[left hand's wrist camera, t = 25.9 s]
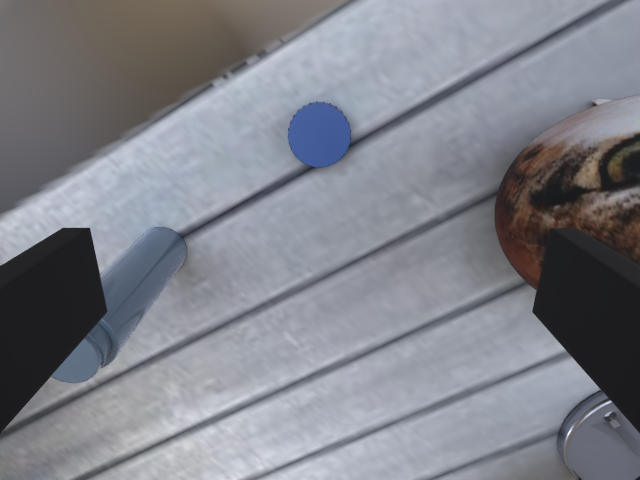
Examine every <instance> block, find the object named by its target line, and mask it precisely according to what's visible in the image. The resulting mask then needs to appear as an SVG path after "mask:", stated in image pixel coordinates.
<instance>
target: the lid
mask: <svg viewBox="0 0 640 480" xmlns="http://www.w3.org/2000/svg"><path fill="white" fill-rule="evenodd" d="M346 119H347V118H346V116H344V115H343V114H342V111H340V110H338V109H337V107H334V106H332V105H331V104H330V103H329V104H327V103H324V102H323V103H321V102H318V103H317V102H316V103H312V104H311V103H309V105H306V106H303V108H302V109H300V110H298V111H297V114H296V115H294V116H293V120H292V121H291V122H290V127H289V129H288V130H289V133H288V138H289V144H290V147H291V150H292V151H293V153H294V154H295V156H296V157H297V158H298V159H299V160H300V161H302V162H303V163H305V164H307V165H309V166H312V167H326V166H330V165H332V164H334V163H336V162H337V161H339V160H340V159H341V158H342V157H343V156H344V154H345V153H346V152H347V149H348V147H349V145H350V139H351V137H350V132H351V130H350V128H349V123H348V122H347V120H346Z"/></svg>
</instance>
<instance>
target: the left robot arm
mask: <svg viewBox="0 0 640 480" xmlns="http://www.w3.org/2000/svg"><path fill="white" fill-rule="evenodd" d="M107 312H108V311H107V306H106V302H105V297H104V292H103V288H102V283H101V278H100V273H99V269H98V264H97V259H96V255H95V250H94V245H93V240H92V236H91V231H90V228H62V229H60V230H59V231H57V232H56V233H54V234H52V235H51V236H49V237H47V238H46V239H44V240H42V241H41V242H39V243H37V244H36V245H34V246H33V247H31V248H29V249H28V250H26V251H24V252H23V253H21V254H19V255H18V256H16V257H14V258H13V259H11V260H10V261H8V262H6V263H5V264H3V265H1V266H0V433H1V432H2V431H3V430H4V429H5V427H6V426H7V425H8V424H9V423H10V422H11V421H12V419H13V418H14V417H15V416H16V415H17V414H18V413H19V412H20V410H21V409H22V408H23V407H24V406H25V405H26V404H27V403H28V401H29V400H30V399H31V398H32V397H33V396H34V395H35V393H36V392H37V391H38V390H39V389H40V388H41V387H42V386H43V384H44V383H45V382H46V381H47V380H48V379H49V378H50V376H51V375H52V374H53V373H54V372H55V371H56V370H57V369H58V367H59V366H60V365H61V364H62V363H63V362H64V361H65V360H66V358H67V357H68V356H69V355H70V354H71V353H72V352H73V350H74V349H75V348H76V347H77V346H78V345H79V344H80V343H81V341H82V340H83V339H84V338H85V337H86V336H87V335H88V334H89V332H90V331H91V330H92V329H93V328H94V327H95V326H96V324H97V323H98V322H99V321H100V320H101V319H102V318H103V317H104V315H105V314H106V313H107ZM532 312H533V313H534V314H535V315H536V317H537V318H538V319H539V320H540V321H541V322H542V323H543V324H544V326H545V327H546V328H547V329H548V330H549V331H550V332H551V334H552V335H553V336H554V337H555V338H556V339H557V340H558V341H559V343H560V344H561V345H562V346H563V347H564V348H565V349H566V350H567V352H568V353H569V354H570V355H571V356H572V357H573V358H574V360H575V361H576V362H577V363H578V364H579V365H580V366H581V367H582V369H583V370H584V371H585V372H586V373H587V374H588V375H589V377H590V378H591V379H592V380H593V381H594V382H595V383H596V384H597V386H598V387H599V388H600V389H601V390H602V391H601V392H599V393H597V394H595V395H593V396H591V397H590V398H588V399H586V400H585V401H584V402H582V403H581V404H580V405H579V406H577V407H576V408H575V409H574V410H573V411H572V412H571V414H570V415H569V416H568V417H567V419H566V420H565V422H564V424H563V425H562V428H561V430H560V433H559V437H558V449H559V453H560V456H561V458H562V460H563V461H564V463H565V464H566V466H567V468H568V469H569V471H570V472H571V474H572V475H573V476H574V477H575V478H576V479H577V480H640V266H639V265H637V264H635V263H634V262H632V261H630V260H629V259H627V258H626V257H624V256H622V255H621V254H619V253H617V252H616V251H614V250H612V249H611V248H609V247H607V246H606V245H604V244H603V243H601V242H599V241H598V240H596V239H594V238H593V237H591V236H589V235H588V234H586V233H584V232H583V231H581V230H580V229H578V228H550V231H549V236H548V240H547V245H546V250H545V255H544V259H543V264H542V269H541V273H540V278H539V283H538V287H537V292H536V297H535V302H534V306H533V311H532Z"/></svg>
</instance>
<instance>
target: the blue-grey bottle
mask: <svg viewBox="0 0 640 480" xmlns="http://www.w3.org/2000/svg"><path fill="white" fill-rule="evenodd" d="M186 256H187V248H186V244H185V242H184V240H183V239H182V237H181V236H180V235H179V234H178V233H176V232H175V231H173V230H171V229H168V228H164V227H157V228H153V229H150V230H148V231H147V232H146V233H145V234H143V235H142V236H141V237H140V238H139V239H138V240H137V241H136V242H135V243H134V244H133V245H132V246H130V247H129V248H128V249H127V250H126V251H125V252H124V253H123V254H122V255H121V256H120V257H119V258H117V259H116V260H115V261H114V262H113V263H112V264H111V265H110V266H109V267H108V268H107V269H106V270H104V271H103V272H102V273H101V274H100V278H101V283H102V288H103V292H104V297H105V302H106V306H107V311H108V312H107V313H106V314H105V315H104V317H103V318H102V319H101V320H100V321H99V322H98V323H97V324H96V326H95V327H94V328H93V329H92V330H91V331H90V332H89V334H88V335H87V336H86V337H85V338H84V339H83V340H82V341H81V343H80V344H79V345H78V346H77V347H76V348H75V349H74V350H73V352H72V353H71V354H70V355H69V356H68V357H67V358H66V360H65V361H64V362H63V363H62V364H61V365H60V366H59V367H58V369H57V370H56V371H55V372H54V373H53V374H52V375H51V376H52V377H53V378H55V379H57V380H60V381H63V382H68V383H80V382H84V381H86V380H89V379H90V378H92V377H93V376H94V375H95V374H96V373H97V371H98V370H99V369H100V368H103V367H105V366H107V365H109V364H110V363H111V362H112V361H113V360H114V359H115V358H116V356H117V355H118V353H119V352H120V351H121V349H122V348H123V346H124V345H125V344H126V342H127V341H128V339H129V338H130V337H131V335H132V334H133V332H134V331H135V330H136V328H137V327H138V325H139V324H140V323H141V321H142V320H143V318H144V317H145V316H146V314H147V313H148V311H149V310H150V309H151V307H152V306H153V304H154V303H155V302H156V300H157V299H158V297H159V296H160V295H161V293H162V292H163V290H164V289H165V288H166V286H167V285H168V283H169V282H170V281H171V279H172V278H173V276H174V275H175V274H176V272H177V271H178V269H179V268H180V267H181V265H182V264H183V262H184V261H185V259H186Z"/></svg>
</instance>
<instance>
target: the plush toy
mask: <svg viewBox="0 0 640 480" xmlns="http://www.w3.org/2000/svg"><path fill="white" fill-rule="evenodd" d="M592 102H594V103H595V104H596V106H593V107H590V108H587V109H585V110H583V111H581V112H578V113H576V114H574V115H572V116H569V117H567V118H566V119H564V120H562V121H560V122H559V123H557V124H555V125H554V126H552V127H550V128H549V129H547V130H546V131H545V132H543V133H542V134H540V135H539V136H538V137H537V138H535V139H534V140H533V141H532V142H531V143H530V144H529V145H528V146H527V147H526V148H525V149H524V150H523V151H522V152H521V153H520V154H519V155H518V156H517V158H516V159H515V160H514V161H513V163H512V164H511V166H510V167H509V169H508V170H507V172H506V174H505V176H504V178H503V180H502V182H501V185H500V188H499V190H498V194H497V198H496V204H495V226H496V231H497V235H498V239H499V242H500V245H501V247H502V249H503V252H504V253H505V255H506V257H507V258H508V260H509V262H510V263H511V265H512V266H513V267H514V269H515V270H516V271H517V272H518V274H519V275H520V276H521V277H522V278H523V279H524V280H525V281H526V282H527V283H528V284H529V285H531V286H532V287H533V288H534V289H536V290H537V287H538V283H539V278H540V273H541V269H542V264H543V259H544V255H545V250H546V245H547V240H548V236H549V231H550V228H578V229H580V230H581V231H583V232H584V233H586V234H588V235H589V236H591V237H593V238H594V239H596V240H598V241H599V242H601V243H603V244H604V245H606V246H607V247H609V248H611V249H612V250H614V251H616V252H617V253H619V254H621V255H622V256H624V257H626V258H627V259H629V260H630V261H632V262H634V263H635V264H637V265H639V266H640V95H634V96H629V97H625V98H621V99H616V100H605V99H597V100H593V101H592Z"/></svg>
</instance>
